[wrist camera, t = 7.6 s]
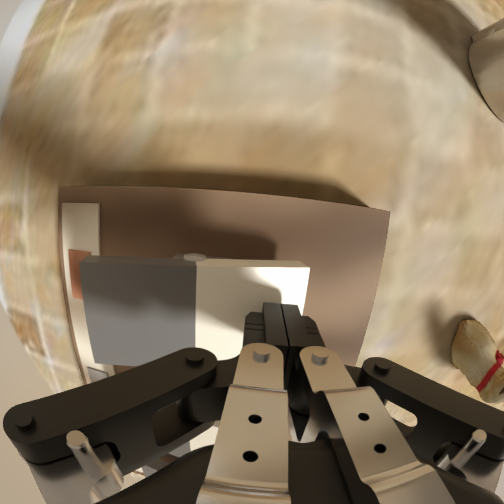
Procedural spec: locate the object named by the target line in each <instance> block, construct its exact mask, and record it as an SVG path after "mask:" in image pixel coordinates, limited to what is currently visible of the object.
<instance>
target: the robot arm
mask: <svg viewBox="0 0 504 504" xmlns="http://www.w3.org/2000/svg"><path fill="white" fill-rule="evenodd" d="M472 39H473V43H472V45H471V46H470V48H469V62H470V67H471V70H472V73H473V76H474V78H475V81H476V83H477V86H478V88H479V90H480V92H481V94H482V96H483V97H484V99H485V100H486V102H487V104H488V105H489V107H490V108H491V110H492V111H493V112H494V113H495V115H496V116H497V117H498V118H499V119H500V120H501V121H502V122H504V18H503V19H501V20H499V21H497V22H495V23H493V24H492V25H490V26H488V27H486V28H484V29H483V30H481V31H479V32H477V33H475V34H474V35H472ZM388 400H389V401H390V402H392V403H394V404H396V405H398V406H400V407H402V408H404V409H406V410H407V411H409V412H411V413H413V414H414V415H415V416H416V417H417V425H416V426H414V427H409V426H407V425H405V424H403V423H401V422H399V421H397V420H395V419H394V418H392V417H391V416H390V414H389V413H388V411H387V409H386V408H385V405H386V403H387V401H388ZM174 402H175V403H174ZM172 403H173V404H172ZM170 404H171V405H170ZM168 405H169V406H168ZM166 406H167V407H166ZM164 407H165V408H164ZM162 408H163V409H162ZM160 409H161V410H160ZM158 410H159V411H158ZM219 420H221V421H220V425H219V428H218V432H217V436H216V440H215V444H213V445H208V446H204V447H201V448H198V449H195V450H193V451H191V452H188V453H186V454H184V455H183V456H181V457H179V458H178V459H176V460H175V461H173V462H171V463H170V464H168V465H167V466H165V467H163V468H162V469H160V470H158V471H157V472H155V473H153V474H152V475H150V476H148V477H146V478H144V479H143V480H141V481H139V482H137V483H135V484H133V485H132V486H130V487H128V488H126V489H124V490H122V491H120V490H121V488H122V486H123V482H124V479H123V476H124V475H127V474H129V473H131V472H133V471H135V470H137V469H139V468H141V467H143V466H145V465H147V464H149V463H151V462H153V461H155V460H157V459H158V458H160V457H162V456H164V455H166V454H168V453H169V452H171V451H173V450H175V449H176V448H178V447H180V446H182V445H183V444H185V443H187V442H188V441H190V440H192V439H193V438H195V437H197V436H198V435H200V434H201V433H203V432H205V431H206V430H208V429H209V428H211V427H212V426H213V425H214V423H215V421H219ZM288 423H289V428H290V432H291V437H292V441H289V440H288ZM3 427H4V431H5V433H6V434H7V436H8V437H9V439H10V440H11V442H12V443H13V444H14V446H15V447H16V448H17V450H18V452H19V454H20V456H21V457H22V458H23V459H24V461H25V462H26V463H27V464H28V465H29V467H30V470H31V472H32V474H33V477H34V479H35V481H36V483H37V485H38V487H39V490H40V492H41V494H42V495H43V498H44V499H45V501H46V503H47V504H504V503H503V501H502V500H501V498H499V496H497V495H496V494H495V493H494V492H495V490H496V487H497V484H498V480H499V477H500V474H501V470H502V466H503V463H504V411H501V410H499V409H496V408H494V407H491V406H489V405H487V404H484V403H482V402H480V401H477V400H475V399H473V398H470V397H468V396H466V395H464V394H461V393H459V392H457V391H455V390H452V389H450V388H448V387H446V386H443V385H441V384H439V383H437V382H435V381H433V380H430V379H428V378H426V377H424V376H422V375H420V374H418V373H415V372H413V371H411V370H409V369H407V368H405V367H403V366H401V365H399V364H397V363H395V362H392V361H390V360H388V359H385V358H380V357H372V358H368V359H366V360H365V361H364V363H363V365H362V368H359V367H353V366H348V365H344V364H343V362H342V361H341V359H340V357H339V356H338V354H337V353H336V352H334V351H333V350H331V349H328V348H326V346H325V344H324V342H323V339H322V337H321V334H320V332H319V330H318V327H317V325H316V322H315V321H314V320H313V319H311V318H310V317H309V316H301V313H300V310H299V307H298V305H295V304H282V303H281V304H280V303H269V302H263V307H262V313H260V312H250V313H249V314H248V315H246V316H245V324H244V334H243V344H242V349H241V351H240V354H239V355H238V356H236V357H234V358H231V359H226V360H217V357H216V356H215V355H214V354H213V353H212V352H210V351H209V350H206V349H203V348H197V347H189V348H184V349H181V350H178V351H176V352H173V353H171V354H168V355H166V356H163V357H161V358H158V359H156V360H153V361H151V362H148V363H145V364H143V365H140V366H137V367H135V368H132V369H129V370H127V371H124V372H121V373H118V374H116V375H113V376H110V377H107V378H104V379H101V380H98V381H95V382H92V383H89V384H86V385H83V386H80V387H77V388H74V389H71V390H68V391H64V392H61V393H58V394H54V395H51V396H48V397H44V398H40V399H37V400H33V401H30V402H26V403H22V404H19V405H16V406H14V407H12V408H11V409H9V410H8V412H7V413H6V414H5V416H4V419H3ZM119 491H120V492H119Z"/></svg>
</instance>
